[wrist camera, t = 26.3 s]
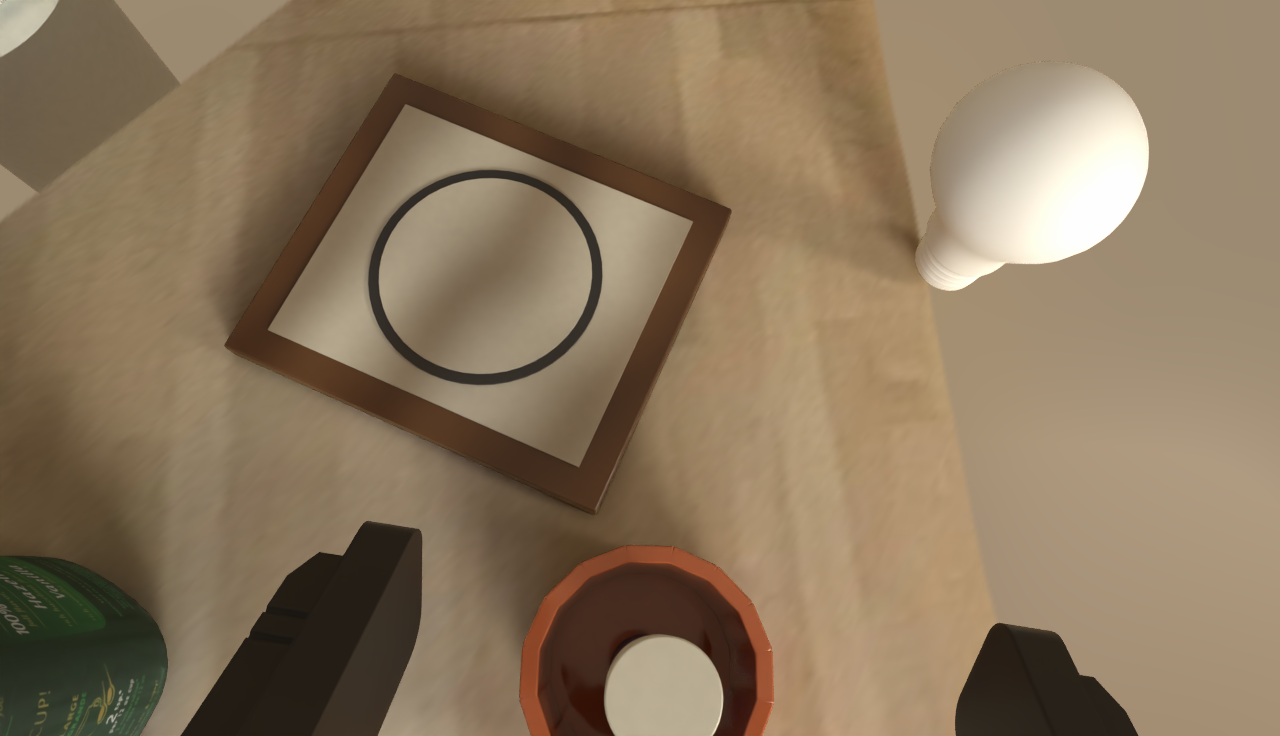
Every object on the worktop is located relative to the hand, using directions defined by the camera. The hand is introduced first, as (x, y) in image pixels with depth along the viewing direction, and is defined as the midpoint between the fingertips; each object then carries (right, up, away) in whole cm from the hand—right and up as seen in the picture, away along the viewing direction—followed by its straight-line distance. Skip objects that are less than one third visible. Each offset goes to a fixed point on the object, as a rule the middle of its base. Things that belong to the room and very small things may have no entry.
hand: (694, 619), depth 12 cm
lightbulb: (+11, +7, +22) cm, 26 cm away
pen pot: (-1, -7, +17) cm, 18 cm away
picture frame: (-7, +7, +21) cm, 23 cm away
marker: (-1, -7, +16) cm, 18 cm away
